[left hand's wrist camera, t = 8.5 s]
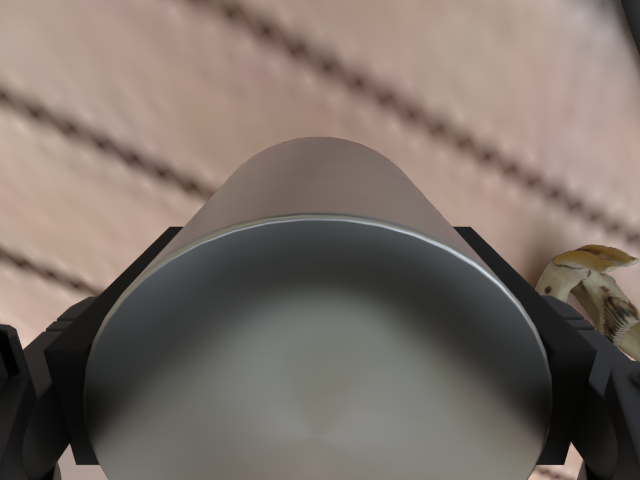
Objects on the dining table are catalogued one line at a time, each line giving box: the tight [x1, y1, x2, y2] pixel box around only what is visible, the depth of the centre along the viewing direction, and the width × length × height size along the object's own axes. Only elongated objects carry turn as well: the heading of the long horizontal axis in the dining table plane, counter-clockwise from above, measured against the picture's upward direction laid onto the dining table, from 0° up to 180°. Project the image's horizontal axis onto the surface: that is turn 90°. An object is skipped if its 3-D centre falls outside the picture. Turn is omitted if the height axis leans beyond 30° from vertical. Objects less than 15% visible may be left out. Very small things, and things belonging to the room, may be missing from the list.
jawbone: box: [535, 245, 640, 447], centre depth 25 cm, size 9×15×10 cm
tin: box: [83, 137, 553, 480], centre depth 11 cm, size 8×8×8 cm
